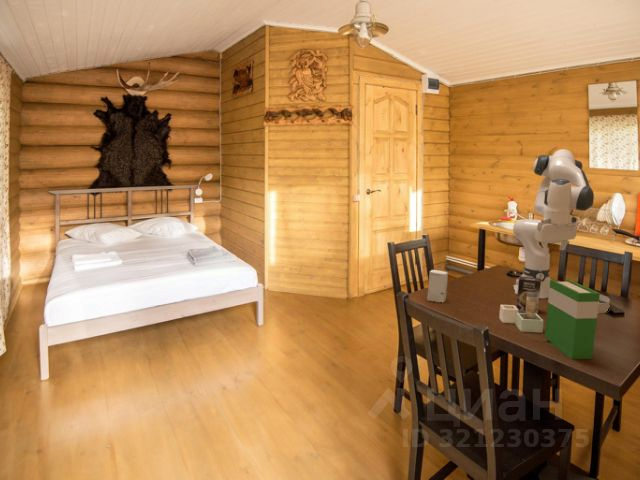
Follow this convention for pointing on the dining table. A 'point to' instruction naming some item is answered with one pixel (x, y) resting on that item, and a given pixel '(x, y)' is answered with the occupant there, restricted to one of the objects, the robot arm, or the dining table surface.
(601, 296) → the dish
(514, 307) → the cup
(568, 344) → the green cereal box
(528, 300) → the dowel
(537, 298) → the coffee box
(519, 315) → the holder
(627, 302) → the dining table surface
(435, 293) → the skincare box
